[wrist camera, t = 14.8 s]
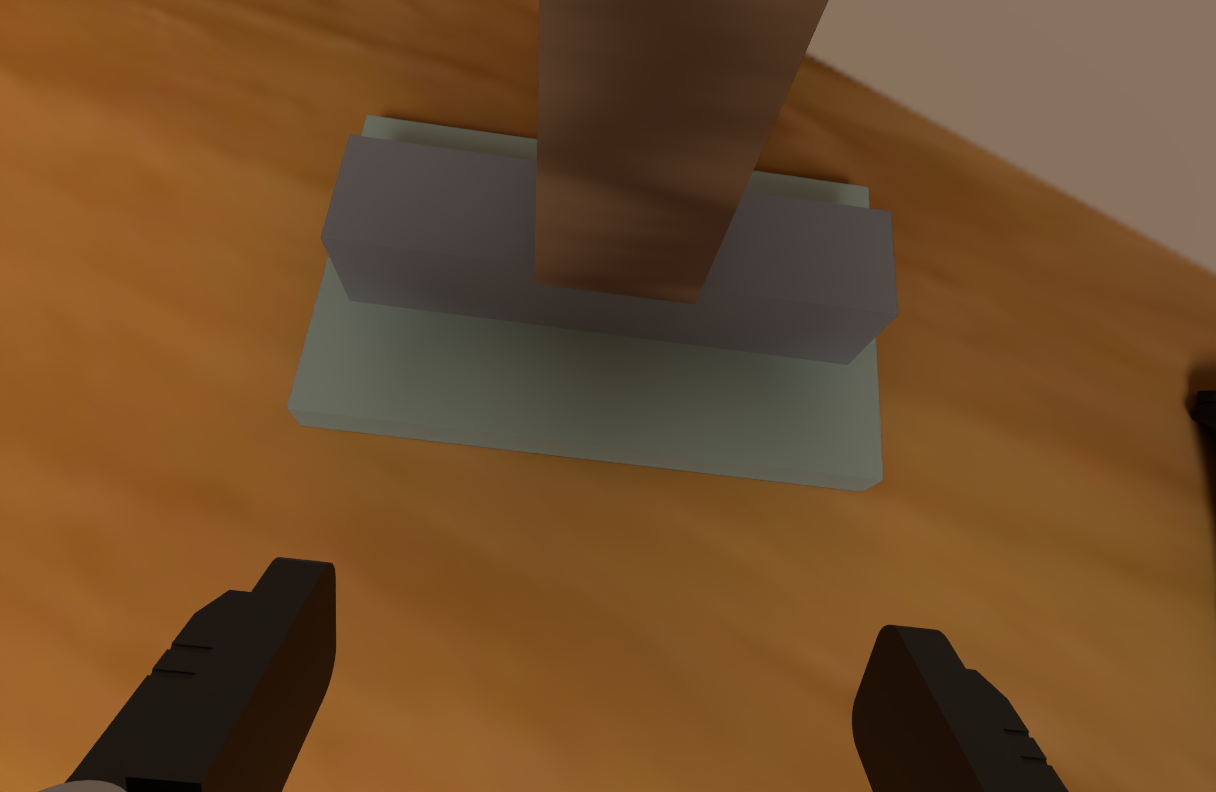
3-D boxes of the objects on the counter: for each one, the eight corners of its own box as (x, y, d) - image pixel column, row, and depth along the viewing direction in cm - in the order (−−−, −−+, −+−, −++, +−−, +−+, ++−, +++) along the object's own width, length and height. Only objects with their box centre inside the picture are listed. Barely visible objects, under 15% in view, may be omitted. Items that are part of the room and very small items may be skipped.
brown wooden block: (700, 173, 22) (829, -204, 13) (694, 304, 20) (836, -20, 11) (552, 153, 22) (573, -249, 12) (534, 283, 20) (541, -67, 11)
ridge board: (851, 211, 28) (915, 118, 23) (862, 491, 24) (942, 445, 19) (375, 144, 27) (343, 32, 22) (301, 425, 23) (244, 359, 18)
